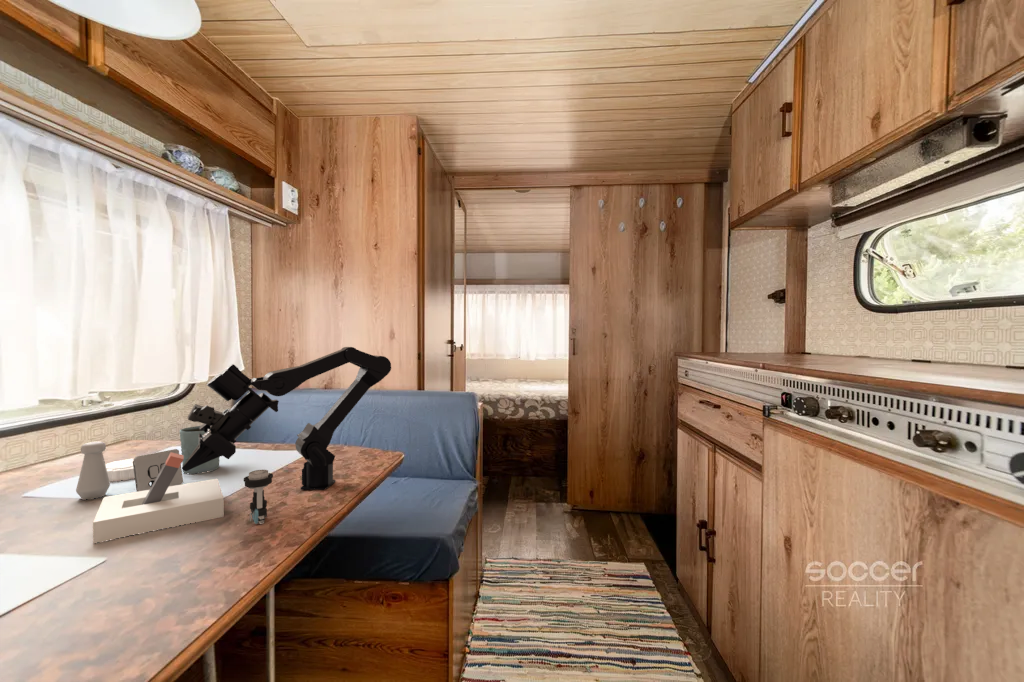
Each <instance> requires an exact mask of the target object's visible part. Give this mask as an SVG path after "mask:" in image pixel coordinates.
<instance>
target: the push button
mask: <svg viewBox="0 0 1024 682" xmlns="http://www.w3.org/2000/svg"><path fill="white" fill-rule="evenodd" d="M273 478H274V474H273V473H270V472H269V470H268V469H256V470H251V471H249V472H248V475H247V476H245V477H244V478H243V482H244V487H246V488H248V489H250V490H253V492H252V502H250V503H249V509H250V512H249V522H252V521H253V522H254V524H255V525H258V524H260V525H262V524H265V522H266V518H267V519H268V509H267V506H268V501H267V499H265V495H264V494H265V490H264V488H266V487H268V486H269V485H270V484H272V482H273Z"/></svg>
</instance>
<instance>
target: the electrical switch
mask: <svg viewBox="0 0 1024 682" xmlns="http://www.w3.org/2000/svg"><path fill="white" fill-rule="evenodd" d="M171 452H172V453H176V454H180V450H179V449H177V448H174V449H173V448H172V449H168V450H163V451H158V452H152V453H148V454H141V455H136V456H135V457H134V458H132V459H133V468H134V476H135V479H134V481H135V489H136V490H135V492H138V491H144V490H150V489H151V487H152V485H153V483H154V481H155V480H156V478H157V476H158V474H159V472H160V471H161V469H162V467H163V465H164V463H165V462H166V460H167V458H168V456H169V454H170V453H171ZM150 483H151V484H150ZM183 483H184V478H183V469H182V464H181V465H180V467H179V468H178V470H177V472H176V474H175V476H174V478H173V479H172V481H171V483H170V485H169V486H175V485H181V484H183Z"/></svg>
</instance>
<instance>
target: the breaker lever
mask: <svg viewBox="0 0 1024 682" xmlns="http://www.w3.org/2000/svg"><path fill="white" fill-rule="evenodd" d="M183 459H184V458H183V455H182V454H181V453H179V454H176V453H172V452H171V453H170V454H169V456H168V458H167V460H166V462H165V463H164V465H163V467H162V469H161V471H160V472H159V474H158V476H157V478H156V480H155V481H154V483H153V485H152V487H151V489H150V490H149V492H148V494H147V496H146V498H145V499H144V501H143V503H142V505H144V504H149V503H155V502H160V501H161V500H162V498H163V496H164V494H165V492H166V490H167V489H168V487H169V485H170V483H171V481H172V479H173V478H174V476H175V474H176V472H177V470H178V468H179V467H180V465H181V466H182V461H183Z"/></svg>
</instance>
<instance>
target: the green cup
mask: <svg viewBox="0 0 1024 682" xmlns="http://www.w3.org/2000/svg"><path fill="white" fill-rule="evenodd" d="M201 426H202V425H198V426H197V425H196V426H190V427H185V428H184V427H183V428H181V429H180V430H179V438H180V439H179V442H180V448H181V449H180V451H181V453H180V455H183V458H184V459H183V461H182V463H181V468H182V467H183V465H184V464H185V462H186V461H187V460H188V458H189V457H190V456H191V454H192V453H193V451H194V450H195V449H196V447H197V446H198V444H199V434H201V435H204V434H205V433H206V432H204V431H201V430H200V429H199V427H201ZM220 461H221V460H220V457H218V458H215V459H213V460H210V461H208V462H206V463H204V464H201V465H199V466H197V467H195V468H192V469H190V470H188V471H184V470H183V469H182V473H183V472H184V473H183V474H185V473H189V474H188V475H196V474H195V473H199V474H203V473H202V472H206V473H208V472H207V471H210V472H212V470H213V471H216V470H218V469H219V467H220ZM217 468H218V469H217ZM215 469H216V470H215Z"/></svg>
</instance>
